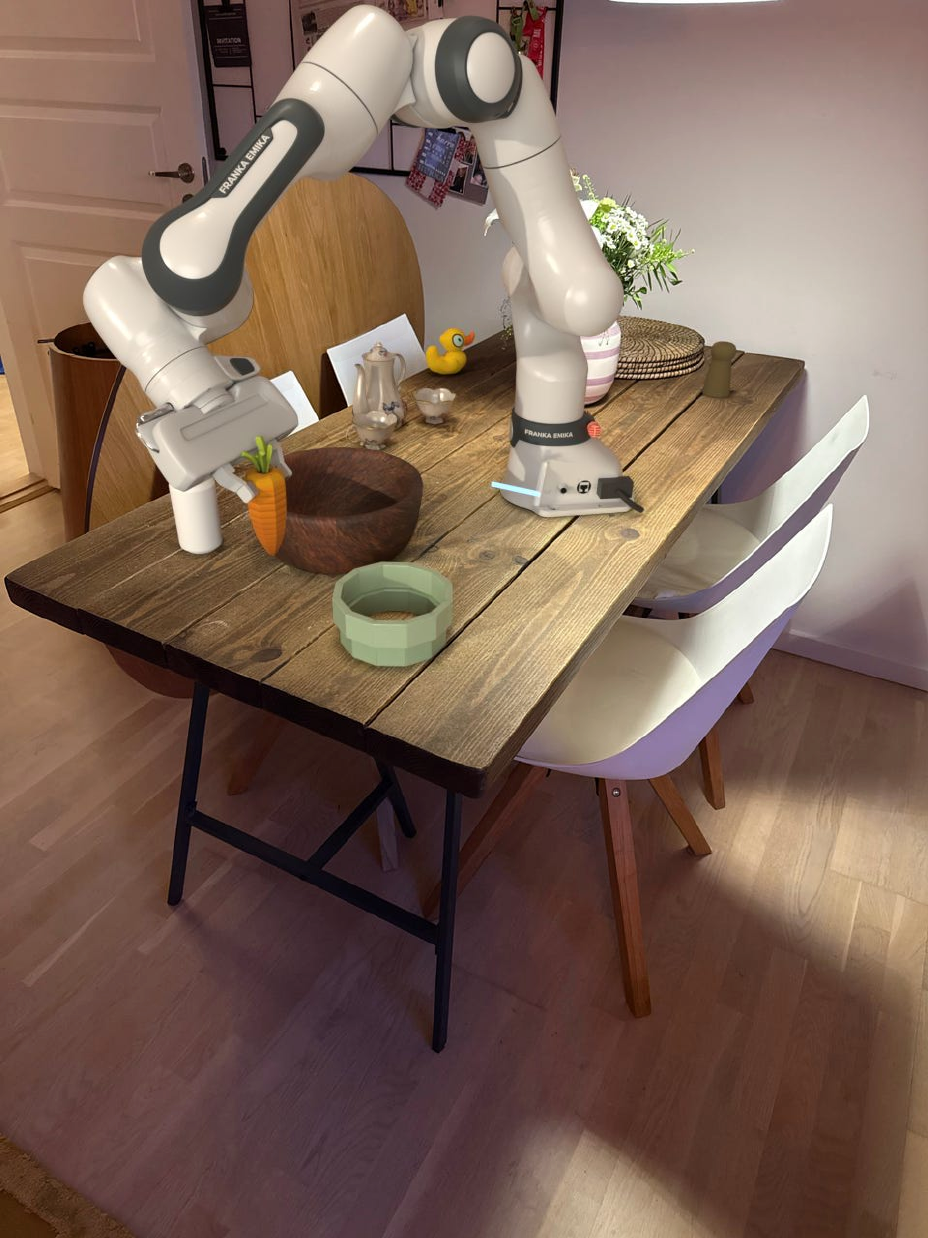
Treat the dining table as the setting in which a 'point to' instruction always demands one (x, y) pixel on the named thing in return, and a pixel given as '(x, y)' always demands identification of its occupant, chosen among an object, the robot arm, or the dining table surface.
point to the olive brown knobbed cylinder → (719, 370)
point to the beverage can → (197, 517)
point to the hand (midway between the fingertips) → (270, 488)
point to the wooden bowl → (348, 508)
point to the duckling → (449, 352)
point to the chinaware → (389, 399)
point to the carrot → (267, 498)
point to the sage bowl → (393, 592)
